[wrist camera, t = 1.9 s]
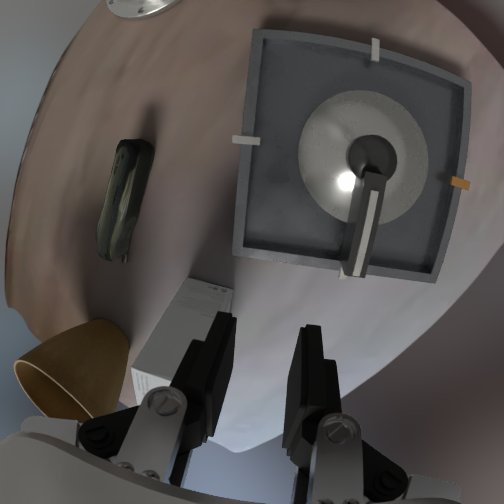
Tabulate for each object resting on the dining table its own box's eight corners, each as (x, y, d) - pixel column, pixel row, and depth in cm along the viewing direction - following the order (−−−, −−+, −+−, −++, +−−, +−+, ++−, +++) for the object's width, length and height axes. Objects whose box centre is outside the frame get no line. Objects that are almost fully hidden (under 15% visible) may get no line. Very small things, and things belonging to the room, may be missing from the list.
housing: (250, 32, 21) (245, 21, 19) (464, 82, 19) (478, 78, 17) (229, 251, 30) (223, 262, 28) (429, 279, 28) (439, 291, 26)
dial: (304, 83, 22) (307, 68, 17) (426, 111, 21) (453, 107, 15) (285, 244, 28) (283, 268, 23) (398, 261, 26) (417, 286, 21)
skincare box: (187, 275, 32) (125, 360, 19) (237, 288, 32) (199, 386, 18) (182, 330, 36) (134, 416, 22) (226, 342, 35) (193, 437, 22)
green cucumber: (113, 137, 23) (90, 270, 28) (137, 144, 23) (110, 281, 28) (138, 137, 27) (112, 254, 33) (160, 144, 27) (131, 264, 33)
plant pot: (157, 381, 41) (117, 457, 26) (86, 357, 42) (39, 416, 28) (145, 307, 35) (79, 392, 21) (66, 286, 37) (-2, 344, 22)
